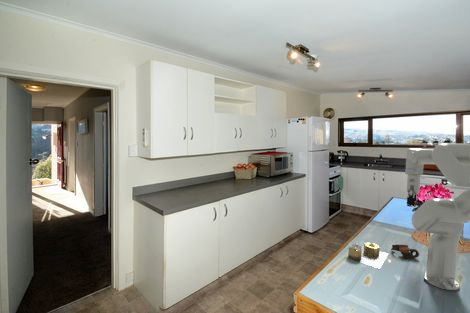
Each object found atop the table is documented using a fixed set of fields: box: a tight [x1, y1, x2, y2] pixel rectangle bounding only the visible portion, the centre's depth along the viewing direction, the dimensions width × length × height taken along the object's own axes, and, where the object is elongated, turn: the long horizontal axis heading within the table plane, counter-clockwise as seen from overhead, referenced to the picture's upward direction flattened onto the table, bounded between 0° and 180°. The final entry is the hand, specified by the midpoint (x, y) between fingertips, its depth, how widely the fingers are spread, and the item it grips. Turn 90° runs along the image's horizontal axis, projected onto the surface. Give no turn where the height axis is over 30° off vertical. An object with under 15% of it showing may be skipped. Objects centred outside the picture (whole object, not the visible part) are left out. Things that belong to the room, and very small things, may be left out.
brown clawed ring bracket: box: [390, 244, 420, 260], centre depth 125 cm, size 12×10×8 cm
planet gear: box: [363, 242, 381, 256], centre depth 127 cm, size 7×7×4 cm
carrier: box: [344, 242, 389, 270], centre depth 124 cm, size 20×16×6 cm
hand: (411, 203), depth 128 cm, fingers open, 9 cm apart
